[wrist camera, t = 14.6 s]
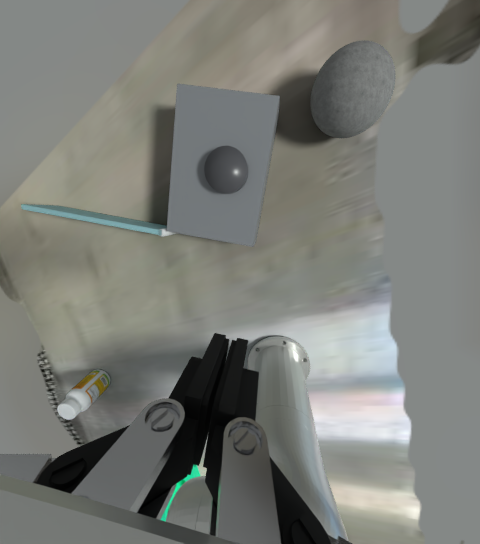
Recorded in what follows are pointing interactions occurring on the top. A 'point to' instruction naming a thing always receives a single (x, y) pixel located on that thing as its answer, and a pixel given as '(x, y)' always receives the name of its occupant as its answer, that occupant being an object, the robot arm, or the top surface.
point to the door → (100, 218)
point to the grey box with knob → (220, 162)
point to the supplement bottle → (84, 394)
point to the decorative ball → (352, 89)
